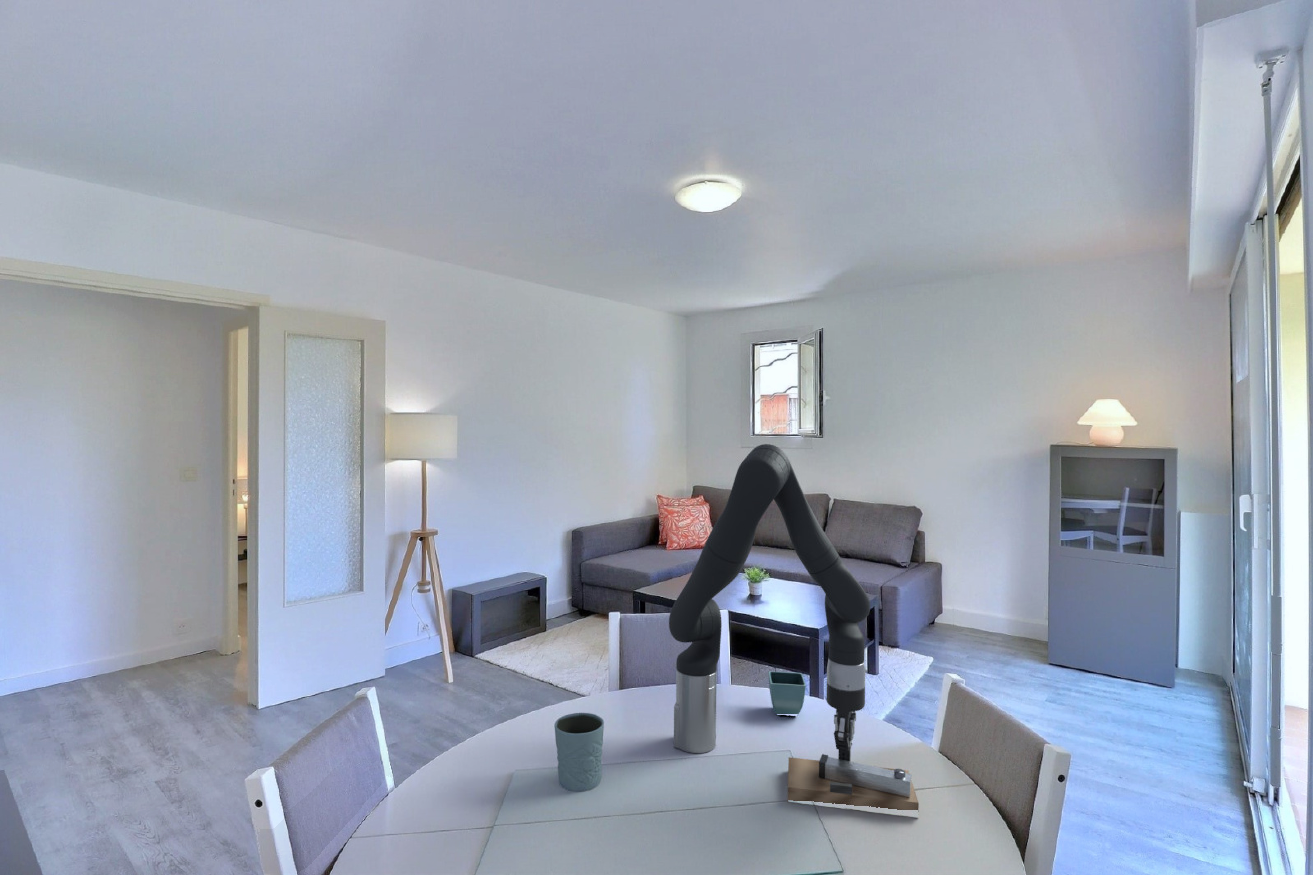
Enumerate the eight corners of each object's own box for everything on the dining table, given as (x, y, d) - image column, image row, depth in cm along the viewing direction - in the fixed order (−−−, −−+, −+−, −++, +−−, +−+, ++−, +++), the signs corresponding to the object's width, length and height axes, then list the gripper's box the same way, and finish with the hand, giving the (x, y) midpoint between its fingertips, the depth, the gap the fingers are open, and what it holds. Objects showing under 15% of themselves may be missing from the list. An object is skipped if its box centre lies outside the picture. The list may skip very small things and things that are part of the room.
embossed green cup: (595, 796, 132) (595, 736, 132) (546, 790, 134) (546, 731, 134) (609, 770, 142) (609, 714, 142) (563, 765, 144) (564, 709, 144)
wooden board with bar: (787, 802, 131) (787, 779, 131) (788, 771, 142) (788, 750, 142) (918, 818, 126) (918, 794, 126) (908, 785, 137) (908, 763, 137)
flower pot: (801, 706, 175) (802, 672, 175) (805, 721, 167) (806, 685, 166) (767, 704, 176) (768, 670, 176) (769, 719, 168) (770, 683, 167)
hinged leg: (911, 789, 130) (911, 769, 130) (909, 798, 127) (910, 777, 127) (822, 769, 137) (822, 751, 137) (818, 777, 134) (819, 758, 134)
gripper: (861, 697, 129) (859, 786, 129) (868, 673, 141) (867, 754, 141) (821, 690, 132) (819, 777, 132) (832, 667, 144) (830, 747, 144)
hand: (844, 765), depth 137 cm, fingers closed
